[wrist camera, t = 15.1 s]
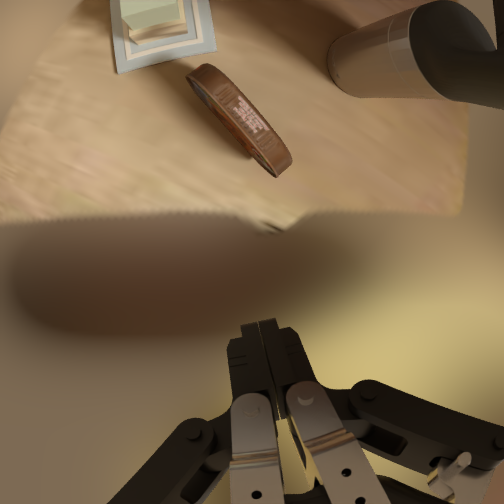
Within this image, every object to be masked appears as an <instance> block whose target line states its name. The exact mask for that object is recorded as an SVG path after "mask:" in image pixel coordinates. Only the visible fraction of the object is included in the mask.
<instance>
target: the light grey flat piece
mask: <svg viewBox="0 0 504 504" xmlns="http://www.w3.org/2000/svg"><path fill="white" fill-rule="evenodd" d="M183 2H184V9H185V16H186V23H187V29H188V33H187V34H182V35H178V36H173V37H169V38H164V39H160V40H156V41H152V42H148V43H145V44H141V45H138V44H137V43H136V42H135V41H134V40H133V39H131V38H130V37H129V28H128V24H127V23H126V22H125V21H124V20H123V19H122V17H121V7H120V0H110V12H111V23H112V33H113V42H114V50H115V58H116V65H117V72H118V74H123V73H126V72H129V71H132V70H136V69H139V68H143V67H146V66H150V65H154V64H158V63H162V62H166V61H170V60H175V59H179V58H184V57H189V56H194V55H199V54H205V53H211V52H217V47H216V41H215V35H214V29H213V23H212V17H211V11H210V4H209V0H183Z"/></svg>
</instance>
